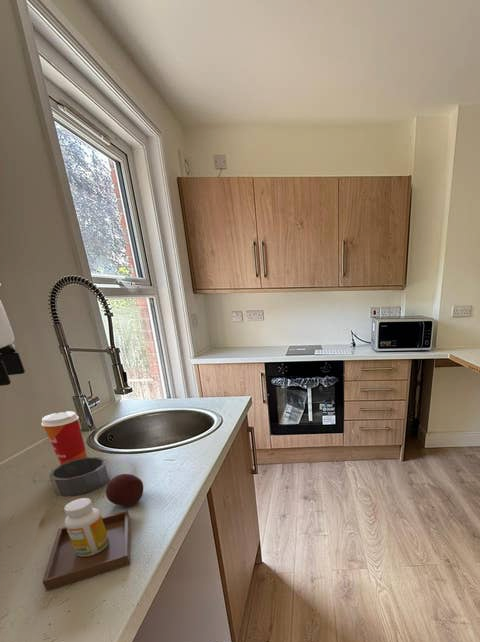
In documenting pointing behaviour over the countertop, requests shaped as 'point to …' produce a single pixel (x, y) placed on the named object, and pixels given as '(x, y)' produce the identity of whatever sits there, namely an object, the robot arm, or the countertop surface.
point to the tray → (74, 568)
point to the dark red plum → (124, 489)
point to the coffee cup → (65, 435)
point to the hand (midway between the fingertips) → (7, 379)
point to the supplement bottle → (85, 527)
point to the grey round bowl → (80, 476)
